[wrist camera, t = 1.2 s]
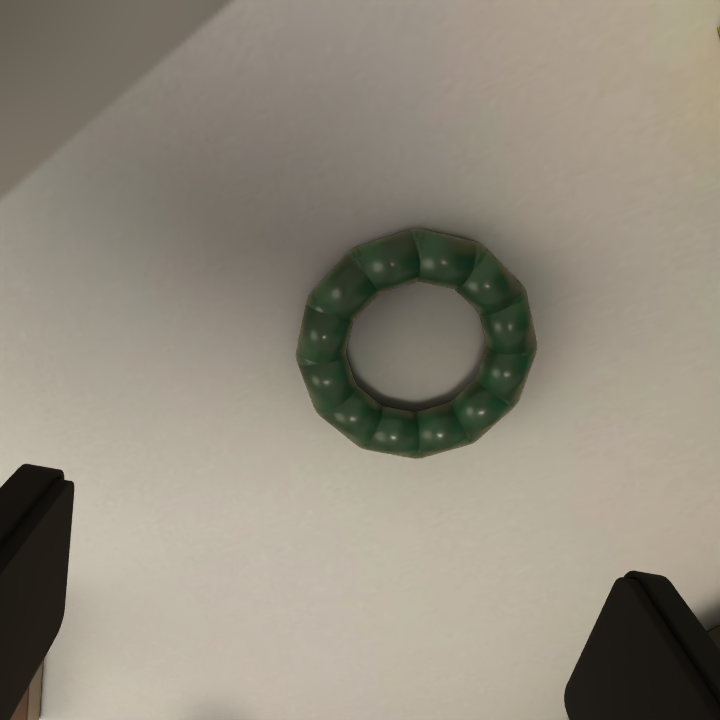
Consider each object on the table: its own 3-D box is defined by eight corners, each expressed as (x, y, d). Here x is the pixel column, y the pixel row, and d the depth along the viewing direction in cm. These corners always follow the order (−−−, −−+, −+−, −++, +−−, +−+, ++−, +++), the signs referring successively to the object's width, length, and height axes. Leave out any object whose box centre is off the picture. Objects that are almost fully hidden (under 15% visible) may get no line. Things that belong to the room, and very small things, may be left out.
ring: (326, 203, 22) (326, 210, 20) (557, 257, 23) (575, 268, 21) (281, 420, 25) (277, 442, 23) (486, 458, 26) (497, 482, 24)
